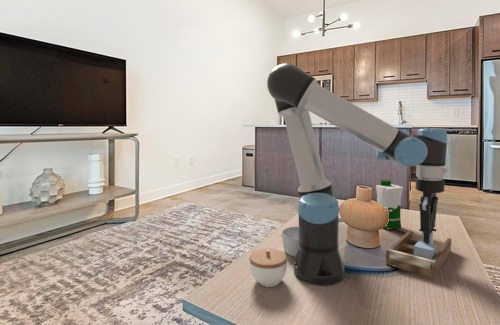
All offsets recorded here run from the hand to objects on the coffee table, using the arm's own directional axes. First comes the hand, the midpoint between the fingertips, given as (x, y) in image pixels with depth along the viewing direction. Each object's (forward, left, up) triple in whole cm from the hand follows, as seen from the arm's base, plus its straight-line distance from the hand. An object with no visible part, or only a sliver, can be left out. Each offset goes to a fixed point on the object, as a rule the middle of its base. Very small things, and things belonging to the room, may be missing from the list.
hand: (426, 251), depth 90 cm
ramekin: (-35, -19, -4) cm, 40 cm away
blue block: (0, -3, -1) cm, 3 cm away
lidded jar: (-30, -42, -4) cm, 52 cm away
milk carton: (-20, +26, -4) cm, 33 cm away
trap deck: (-2, +2, -4) cm, 5 cm away
